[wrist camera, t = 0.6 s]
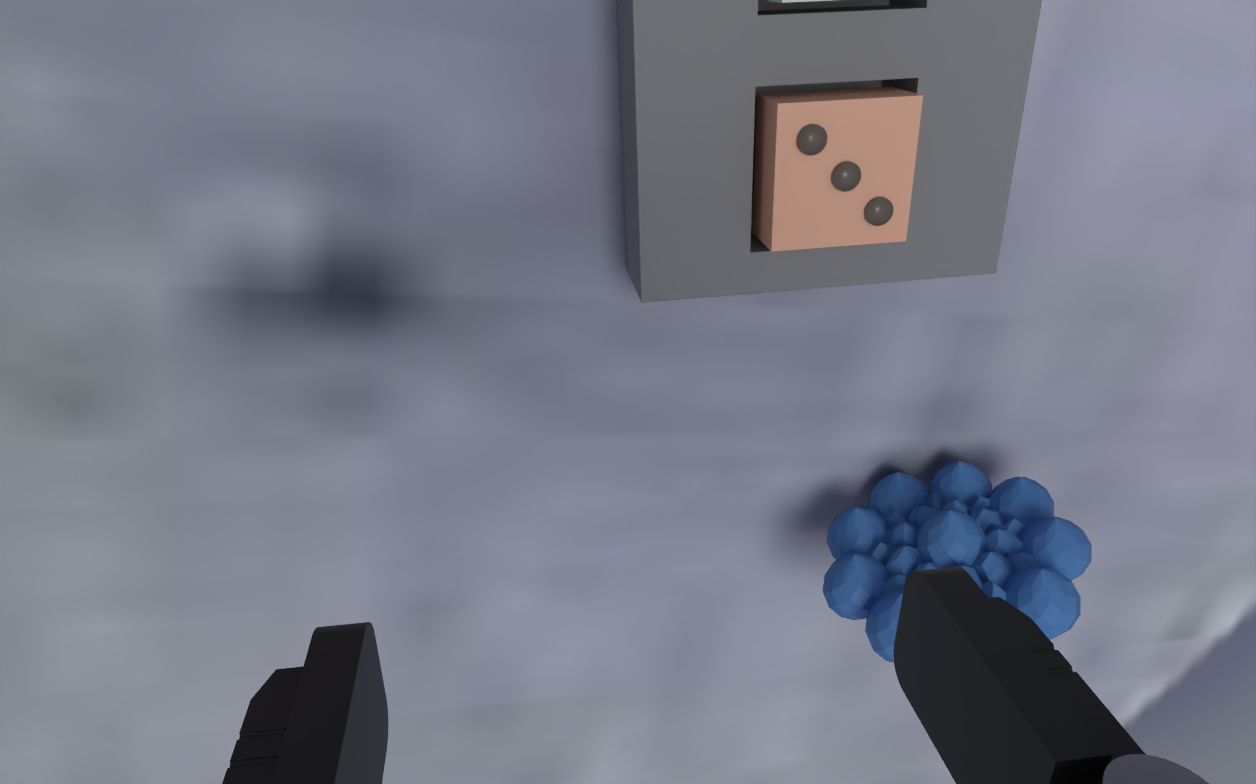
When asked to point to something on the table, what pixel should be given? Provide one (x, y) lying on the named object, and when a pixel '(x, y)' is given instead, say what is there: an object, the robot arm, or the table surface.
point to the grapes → (955, 548)
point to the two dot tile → (793, 0)
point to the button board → (812, 61)
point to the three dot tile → (834, 167)
